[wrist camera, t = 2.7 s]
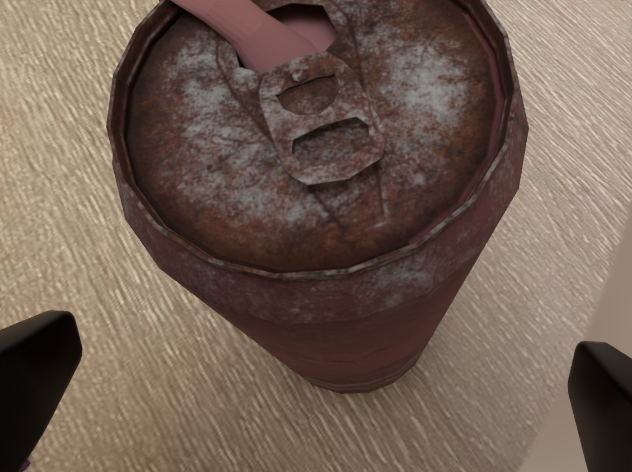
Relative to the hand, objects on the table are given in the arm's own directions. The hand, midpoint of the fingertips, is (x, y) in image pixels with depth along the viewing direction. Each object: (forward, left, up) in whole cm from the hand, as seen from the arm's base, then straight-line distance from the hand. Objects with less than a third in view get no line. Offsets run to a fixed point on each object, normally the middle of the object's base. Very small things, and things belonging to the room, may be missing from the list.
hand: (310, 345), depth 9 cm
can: (+2, +2, -10) cm, 11 cm away
